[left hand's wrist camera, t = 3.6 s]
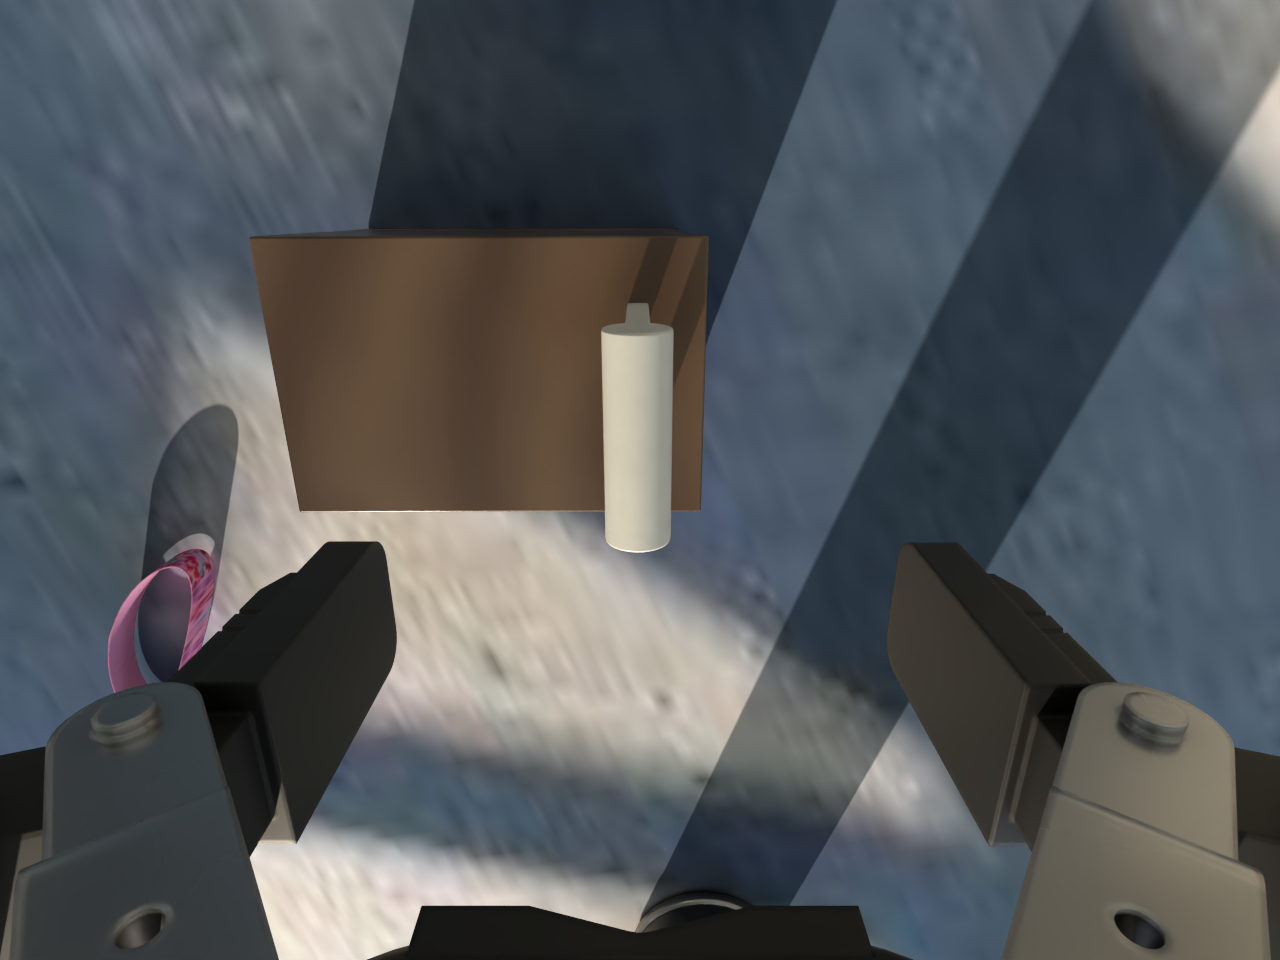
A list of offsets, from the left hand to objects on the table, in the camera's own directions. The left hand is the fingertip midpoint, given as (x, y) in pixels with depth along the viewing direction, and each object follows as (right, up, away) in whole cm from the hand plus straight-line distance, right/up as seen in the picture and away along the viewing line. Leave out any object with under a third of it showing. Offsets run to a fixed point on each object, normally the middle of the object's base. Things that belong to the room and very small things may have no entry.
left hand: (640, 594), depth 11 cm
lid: (-5, +6, +15) cm, 17 cm away
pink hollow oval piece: (-27, -6, +30) cm, 40 cm away
